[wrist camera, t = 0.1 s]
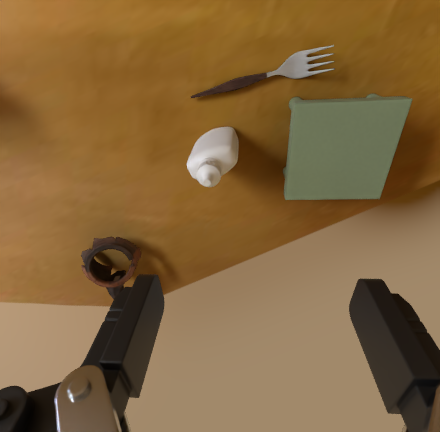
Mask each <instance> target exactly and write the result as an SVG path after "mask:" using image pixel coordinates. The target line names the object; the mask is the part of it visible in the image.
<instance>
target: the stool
mask: <svg viewBox="0 0 440 432" xmlns="http://www.w3.org/2000/svg"><path fill="white" fill-rule="evenodd" d="M411 102H412V99H411V98H408V97H405V96H396V97H382V96H379V95H377V94H370V95H368V96H367V97H366V98H346V99H321V100H302V99H301V98H300V97H294V98H292V99H291V100H290V102H289V108H290V109H291V111H292V112H291V122H290V133H289V143H288V154H287V164H286V167H285V168H284V169H283V174H284V177H285V185H284V196H285V200H323V199H380V196H381V193H382V190H383V187H384V184H385V181H386V178H387V175H388V172H389V169H390V166H391V163H392V160H393V157H394V154H395V151H396V148H397V145H398V142H399V139H400V136H401V133H402V130H403V127H404V124H405V121H406V118H407V115H408V112H409V109H410V105H411Z"/></svg>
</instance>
